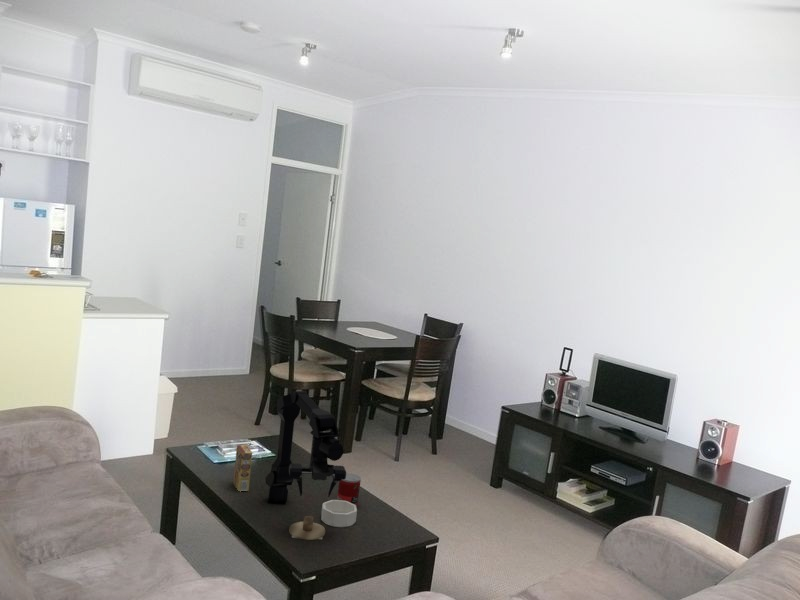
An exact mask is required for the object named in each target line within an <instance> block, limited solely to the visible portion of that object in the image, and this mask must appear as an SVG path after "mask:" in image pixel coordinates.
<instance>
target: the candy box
mask: <svg viewBox="0 0 800 600" xmlns="http://www.w3.org/2000/svg"><path fill="white" fill-rule="evenodd" d="M235 450H236V453H235V462H234V474H233V485H234V488H237V489H236V491H237V490H238V491H240V492H239V493H242V492H241V491H248V492H249V490H250V480H251V472H252V471H251V469H252V460H253V452H252V450H251V449H250V447H249V446H248V445H247V444H241V445H240V444H239V445H236V449H235ZM238 491H237V492H238Z"/></svg>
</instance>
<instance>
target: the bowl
mask: <svg viewBox="0 0 800 600" xmlns="http://www.w3.org/2000/svg"><path fill="white" fill-rule="evenodd" d="M357 512H358V509H357V507H356V505H354V504H352V503H350V502H348V501H343V500H337V499H331V500H328V501H325V502H323V503H322V507H321V512H320V513H321V518H320V519H321V521H322V522H323V523H324V524H326V525H327V526H331V527H335V528H348V527H351V526H353V525H355V523H356V521H357V515H358V513H357Z"/></svg>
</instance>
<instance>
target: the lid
mask: <svg viewBox="0 0 800 600" xmlns="http://www.w3.org/2000/svg"><path fill="white" fill-rule="evenodd" d="M288 532H289V534H290V536H291V537H292V536H294V537H296V538H295V539H299V540H306V541H311V540H312V541H313V540H320V539H319V538H321V537H322V538H323V537H324V536H325V534H326V529H325V527H324V526H323V525H321V524H320V523H317V522H314V517H313V516H311V515H305V516H303V521H298V522H294V523H292V524H291V525H290V526H289V528H288Z"/></svg>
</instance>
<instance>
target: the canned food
mask: <svg viewBox="0 0 800 600" xmlns="http://www.w3.org/2000/svg"><path fill="white" fill-rule="evenodd" d="M361 481H362V479H361V476H359V475H357V474H354V473H350V472H349V473H348V472H346V479H342V480H341V481H338V489H337V497H336V500H343V501H348V502H350V503H352V504H354V505H356V508H357V506H358V505H359V495H360V488H361Z"/></svg>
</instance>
